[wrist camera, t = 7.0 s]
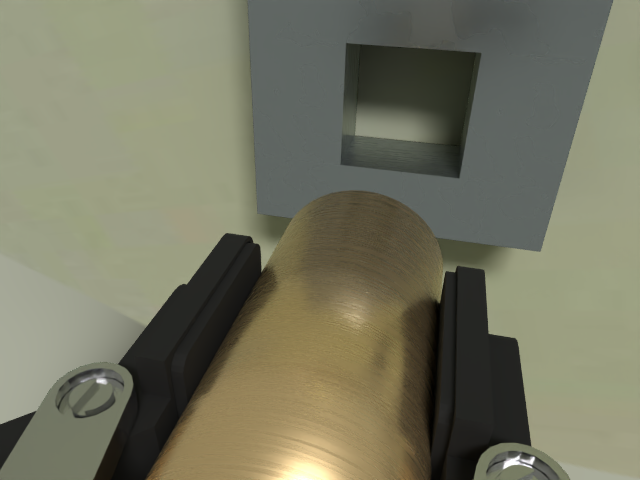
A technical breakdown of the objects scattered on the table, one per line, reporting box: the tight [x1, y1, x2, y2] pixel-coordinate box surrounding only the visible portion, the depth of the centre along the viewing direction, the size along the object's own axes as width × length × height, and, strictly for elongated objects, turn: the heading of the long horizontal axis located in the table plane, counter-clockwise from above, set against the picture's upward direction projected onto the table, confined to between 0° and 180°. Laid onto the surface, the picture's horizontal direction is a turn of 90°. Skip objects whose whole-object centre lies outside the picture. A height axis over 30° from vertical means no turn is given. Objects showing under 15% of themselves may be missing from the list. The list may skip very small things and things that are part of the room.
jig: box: [248, 0, 613, 252], centre depth 22 cm, size 14×20×4 cm
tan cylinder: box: [145, 190, 443, 480], centre depth 9 cm, size 4×4×9 cm
